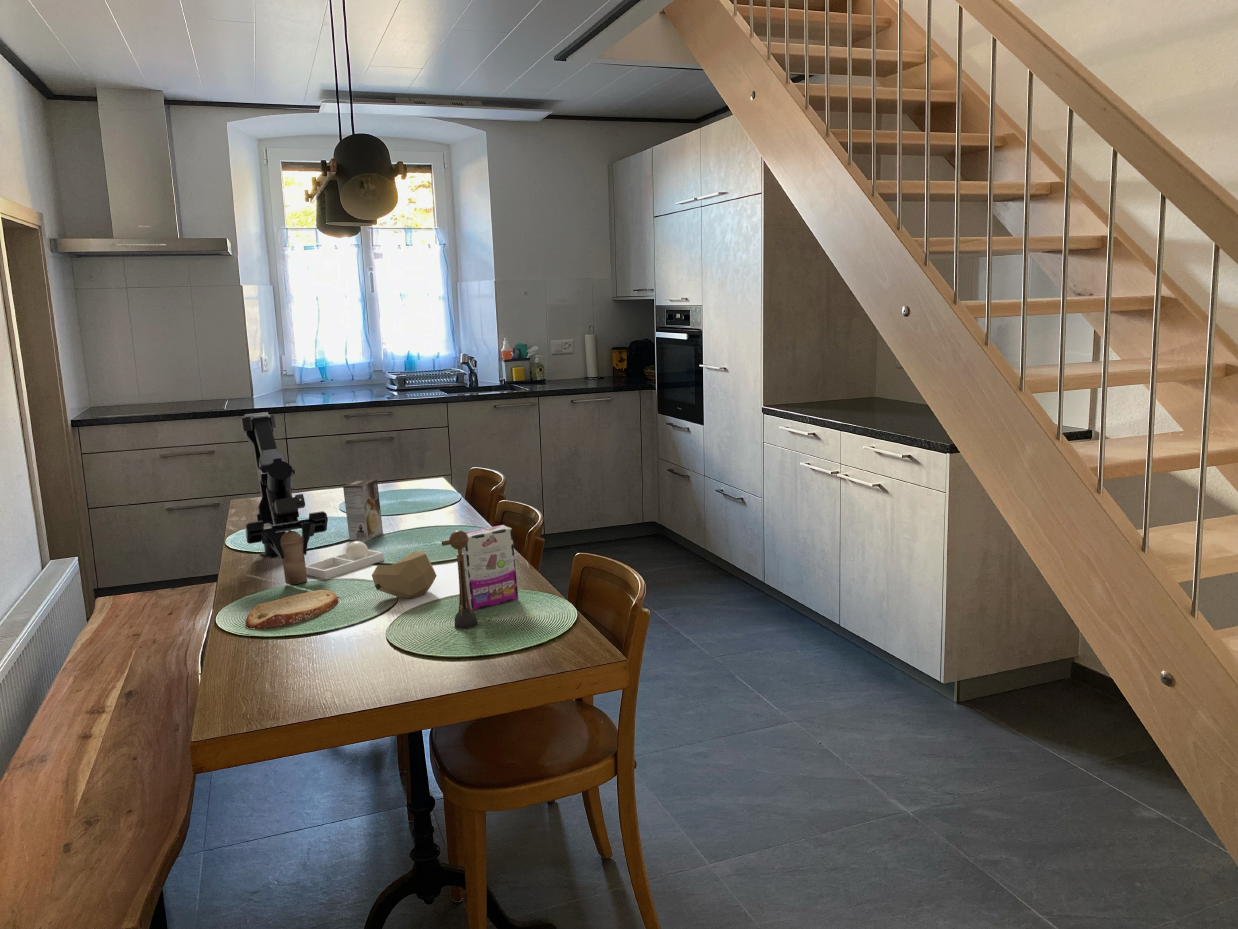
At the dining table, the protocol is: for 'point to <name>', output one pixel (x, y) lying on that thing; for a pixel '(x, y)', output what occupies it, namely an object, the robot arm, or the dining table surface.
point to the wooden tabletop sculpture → (462, 582)
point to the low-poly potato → (406, 576)
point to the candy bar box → (490, 567)
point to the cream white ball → (356, 551)
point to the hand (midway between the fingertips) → (294, 556)
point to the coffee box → (363, 509)
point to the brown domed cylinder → (293, 558)
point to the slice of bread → (291, 609)
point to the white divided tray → (341, 565)
